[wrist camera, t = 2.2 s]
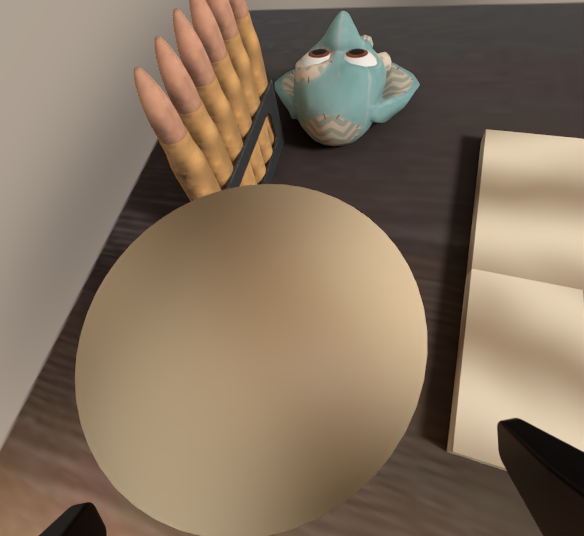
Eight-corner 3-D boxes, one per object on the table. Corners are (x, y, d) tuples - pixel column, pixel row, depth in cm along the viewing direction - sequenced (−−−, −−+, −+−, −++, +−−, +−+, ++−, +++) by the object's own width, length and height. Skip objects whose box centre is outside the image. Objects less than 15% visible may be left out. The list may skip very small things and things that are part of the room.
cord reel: (303, 523, 15) (172, 742, 4) (219, 397, 18) (4, 309, 7) (411, 414, 17) (554, 335, 5) (316, 314, 20) (275, 123, 8)
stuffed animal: (435, -25, 24) (435, 44, 17) (416, 81, 30) (410, 166, 23) (286, -18, 27) (233, 45, 20) (295, 79, 32) (255, 156, 25)
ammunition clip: (262, 137, 27) (207, -66, 16) (285, 139, 26) (244, -68, 16) (216, 258, 22) (100, 85, 12) (243, 262, 22) (148, 86, 11)
